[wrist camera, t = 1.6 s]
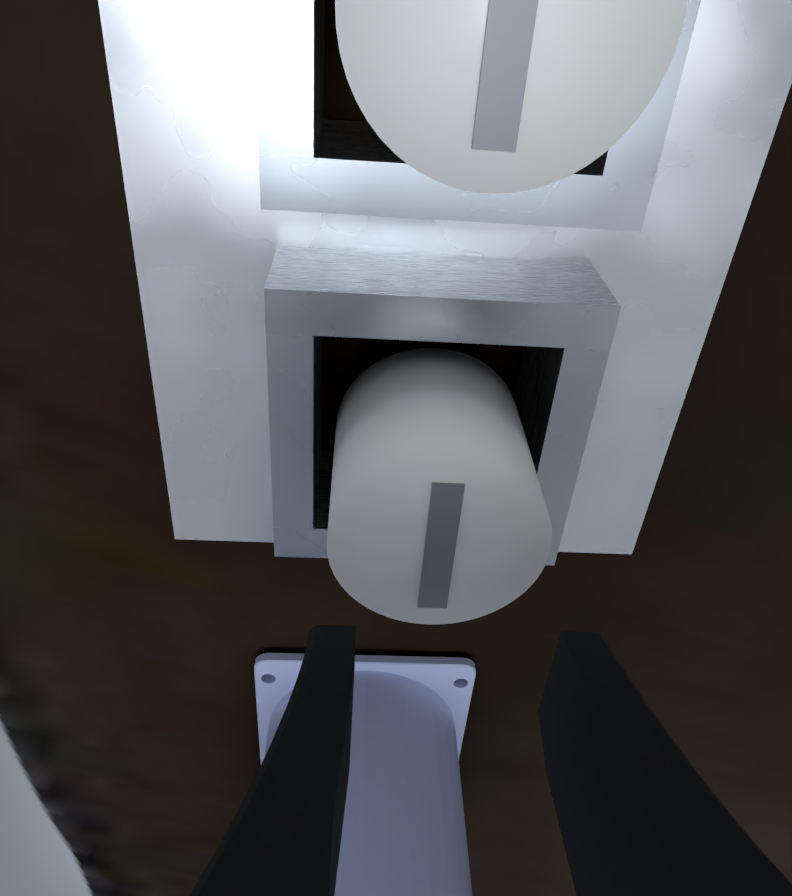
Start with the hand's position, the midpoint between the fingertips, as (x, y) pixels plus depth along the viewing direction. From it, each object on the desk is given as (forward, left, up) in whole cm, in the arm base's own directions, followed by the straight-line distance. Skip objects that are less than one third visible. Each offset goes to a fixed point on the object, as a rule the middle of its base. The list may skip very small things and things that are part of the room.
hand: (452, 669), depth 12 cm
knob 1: (+9, 0, -7) cm, 11 cm away
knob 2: (0, 0, -7) cm, 7 cm away
